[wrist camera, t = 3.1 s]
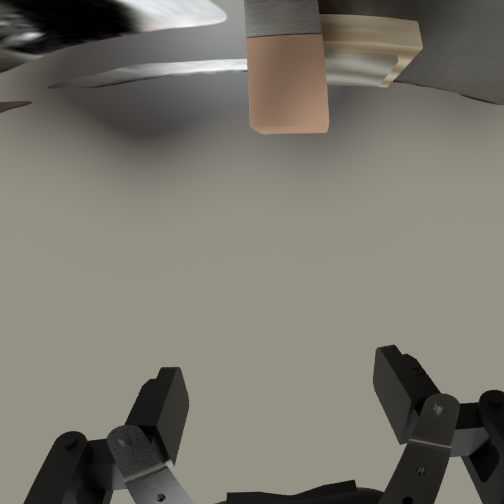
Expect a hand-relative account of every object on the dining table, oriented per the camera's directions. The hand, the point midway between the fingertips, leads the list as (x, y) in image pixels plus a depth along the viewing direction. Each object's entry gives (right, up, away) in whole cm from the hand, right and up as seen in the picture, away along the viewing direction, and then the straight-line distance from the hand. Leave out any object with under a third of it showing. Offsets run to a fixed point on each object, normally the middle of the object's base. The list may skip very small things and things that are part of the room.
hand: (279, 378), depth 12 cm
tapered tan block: (+1, +20, +8) cm, 21 cm away
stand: (+10, +30, +20) cm, 38 cm away
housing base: (+1, +26, +6) cm, 27 cm away
